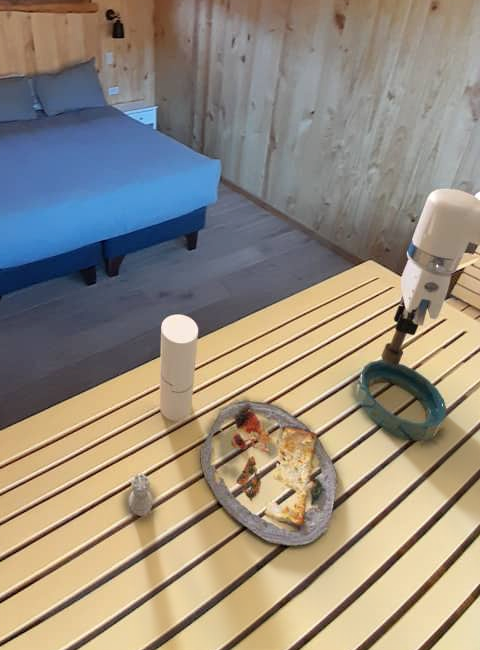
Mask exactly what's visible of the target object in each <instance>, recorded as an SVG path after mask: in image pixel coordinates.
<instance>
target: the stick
mask: <svg viewBox="0 0 480 650" xmlns="http://www.w3.org/2000/svg"><path fill="white" fill-rule="evenodd" d="M404 310H405V309H404ZM403 313H404V312H403ZM411 313H414V314H415V313H416V312H415V311H412V312H411ZM407 335H408V334H407V333H403V332H399V331H397V330H396V329H395V332H394V334H393V335H392V339H391V342H388V343H386V344H385V345H384V347H383V350H382V353H381V360H383V361H385V362H386V363H388V364H390V365H398V364H400V362H401V360H402V357H403V355H404V351H403V349H402V346H403V344H404V341H405V340H406V336H407Z"/></svg>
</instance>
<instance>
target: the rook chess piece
mask: <svg viewBox="0 0 480 650" xmlns="http://www.w3.org/2000/svg"><path fill="white" fill-rule="evenodd" d="M130 486H131V490H132V491H131V493H130V495H129V498H128V505H129V509H130V510H131V512H132V513H133V514H134V515H136V516H140V517H144V516H146V515H148V514H149V513H150V512H151V510H152V509H153V498H152V494H151V493H150V492H149V491H150V486H151V483H150V479H149V478H148V477H147V476H146V475H145V474H143V473H139V474H136V475H134V476H133V478H132V480H131V484H130Z"/></svg>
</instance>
